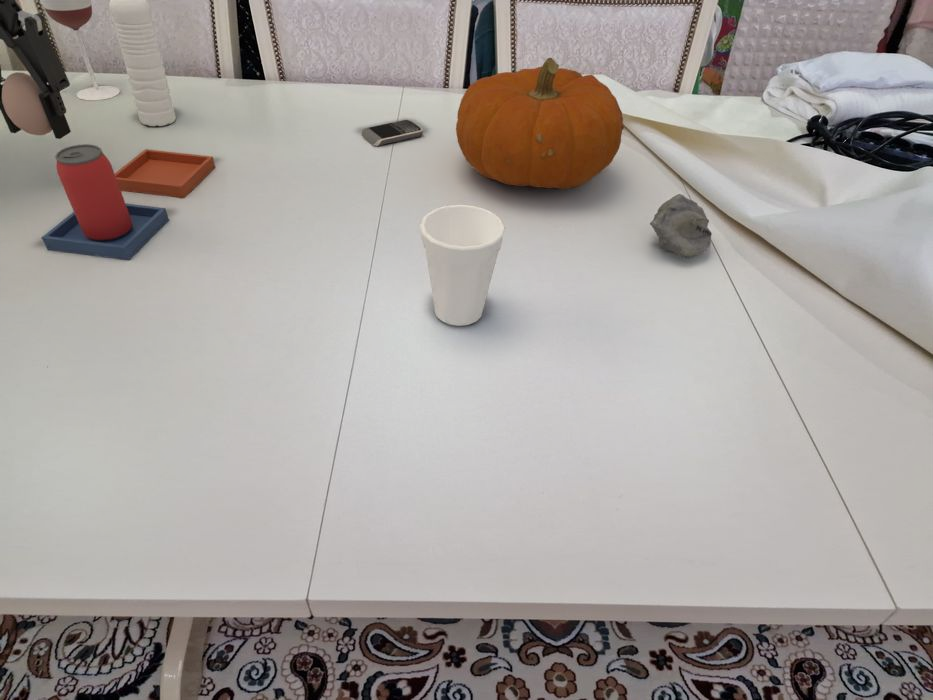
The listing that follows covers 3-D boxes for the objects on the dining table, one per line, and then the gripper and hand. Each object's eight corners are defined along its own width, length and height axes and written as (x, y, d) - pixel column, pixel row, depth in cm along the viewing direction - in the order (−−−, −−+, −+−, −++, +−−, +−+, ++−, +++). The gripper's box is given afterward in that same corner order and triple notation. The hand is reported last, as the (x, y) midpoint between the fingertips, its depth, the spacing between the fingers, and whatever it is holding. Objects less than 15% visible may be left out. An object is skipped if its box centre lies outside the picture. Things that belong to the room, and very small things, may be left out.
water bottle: (138, 127, 117) (97, -24, 101) (141, 115, 122) (102, -32, 106) (187, 125, 119) (155, -22, 103) (188, 113, 124) (158, -30, 108)
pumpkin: (627, 163, 116) (654, 50, 103) (586, 230, 97) (612, 102, 84) (489, 131, 124) (497, 23, 111) (426, 187, 105) (427, 65, 92)
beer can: (84, 223, 91) (51, 145, 83) (133, 216, 93) (105, 139, 85) (83, 246, 87) (48, 166, 78) (134, 238, 89) (105, 159, 81)
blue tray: (47, 249, 86) (41, 237, 85) (94, 210, 95) (89, 199, 93) (129, 260, 86) (124, 247, 84) (169, 219, 94) (165, 208, 92)
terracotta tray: (112, 189, 100) (108, 178, 98) (149, 159, 108) (145, 149, 107) (184, 197, 99) (181, 186, 98) (215, 167, 107) (212, 156, 106)
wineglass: (89, 83, 133) (47, -34, 118) (130, 88, 132) (94, -30, 118) (63, 98, 127) (16, -25, 112) (107, 102, 126) (65, -20, 111)
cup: (436, 345, 75) (438, 255, 67) (409, 298, 82) (407, 211, 73) (509, 327, 79) (520, 239, 70) (477, 283, 85) (483, 198, 76)
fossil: (674, 275, 89) (690, 227, 84) (626, 247, 94) (638, 200, 89) (719, 251, 94) (736, 204, 89) (671, 226, 100) (685, 180, 94)
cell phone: (425, 136, 121) (425, 129, 120) (375, 148, 116) (375, 140, 115) (409, 125, 125) (409, 118, 124) (360, 136, 120) (359, 129, 119)
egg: (27, 124, 98) (2, 64, 92) (72, 125, 99) (49, 66, 92) (9, 142, 93) (-19, 80, 87) (56, 143, 94) (31, 81, 88)
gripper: (58, -39, 82) (114, 130, 98) (-78, -53, 83) (-1, 115, 99) (20, -27, 77) (86, 150, 92) (-125, -42, 78) (-36, 134, 93)
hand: (41, 132), depth 95 cm, fingers closed on egg, 7 cm apart
